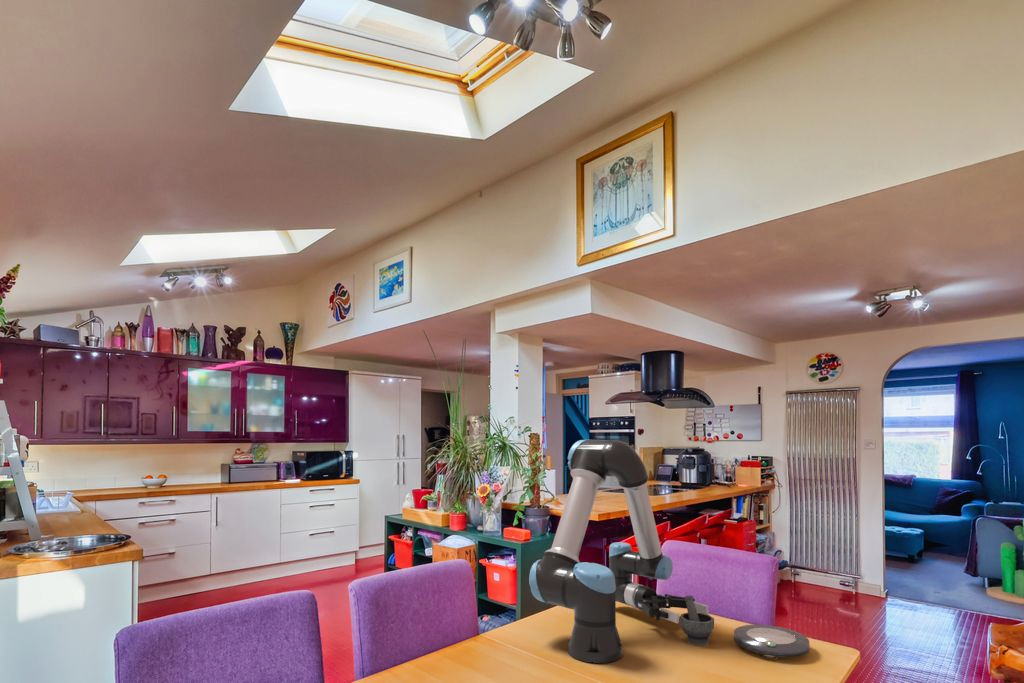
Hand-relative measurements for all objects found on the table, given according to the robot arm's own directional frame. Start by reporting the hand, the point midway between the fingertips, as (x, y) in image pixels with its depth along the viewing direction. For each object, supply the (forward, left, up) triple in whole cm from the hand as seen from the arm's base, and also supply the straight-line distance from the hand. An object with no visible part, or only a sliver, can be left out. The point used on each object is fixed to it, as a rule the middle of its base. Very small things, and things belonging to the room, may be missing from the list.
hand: (693, 614), depth 182 cm
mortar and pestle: (-1, -2, -7) cm, 7 cm away
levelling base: (+12, -18, -7) cm, 22 cm away
